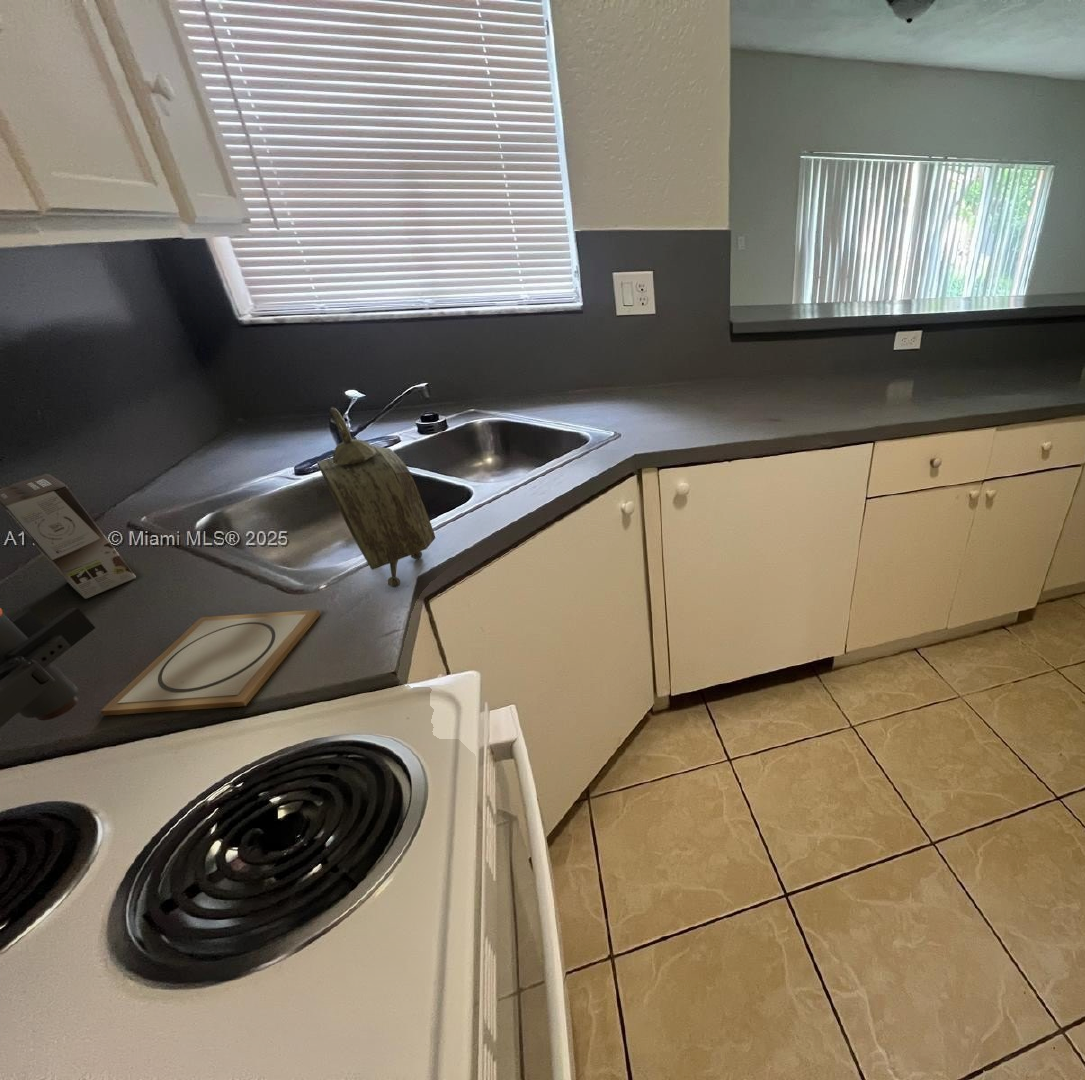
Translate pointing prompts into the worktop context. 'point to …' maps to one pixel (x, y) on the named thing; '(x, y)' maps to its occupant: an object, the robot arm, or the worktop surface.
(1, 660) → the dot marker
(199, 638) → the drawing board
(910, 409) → the worktop surface
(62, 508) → the coffee box
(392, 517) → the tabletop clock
